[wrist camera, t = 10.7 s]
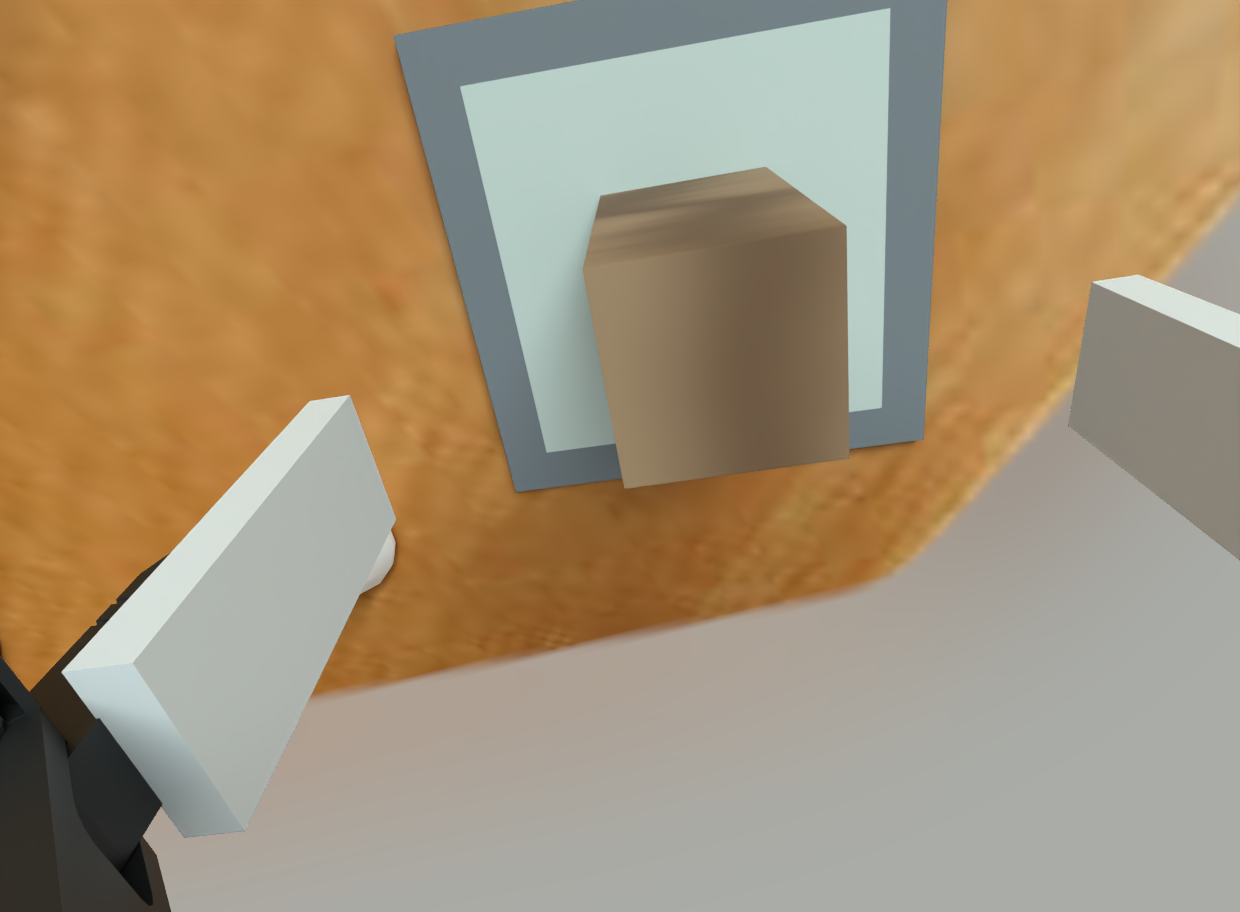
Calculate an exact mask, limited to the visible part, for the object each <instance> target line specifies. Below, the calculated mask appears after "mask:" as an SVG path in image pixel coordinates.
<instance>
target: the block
mask: <svg viewBox="0 0 1240 912" xmlns="http://www.w3.org/2000/svg"><path fill="white" fill-rule="evenodd" d="M583 275H584V280H585V285H586V290H587V296H588V301H589V306H590V311H591V316H592V322H593V327H594V332H595V337H596V343H597V348H598V353H599V358H600V364H601V369H602V374H603V379H604V384H605V390H606V395H607V400H608V405H609V411H610V416H611V421H612V426H613V432H614V437H615V442H616V447H617V452H618V458H619V463H620V468H621V473H622V479H623V484H624V489H626V488H634V487H641V486H649V485H656V484H664V483H671V482H678V481H686V480H693V479H701V478H708V477H716V476H723V475H730V474H738V473H745V472H753V471H760V470H768V469H775V468H782V467H790V466H797V465H805V464H812V463H820V462H827V461H834V460H842V459H849V376H848V293H847V226H846V225H845V224H843V223H842V222H841V221H839V220H838V219H837V218H835V217H834V216H833V215H831V214H830V213H828V212H827V211H826V210H824V209H823V208H822V207H820V206H819V205H817V204H816V203H815V202H813V201H812V200H811V199H809V198H808V197H807V196H805V195H804V194H802V193H801V192H800V191H798V190H797V189H796V188H794V187H793V186H792V185H790V184H789V183H787V182H786V181H785V180H783V179H782V178H781V177H779V176H778V175H777V174H775V173H774V172H772V171H771V170H770V169H768V168H767V167H761V168H756V169H750V170H744V171H738V172H733V173H727V174H721V175H715V176H710V177H704V178H698V179H692V180H687V181H681V182H675V183H669V184H663V185H658V186H652V187H646V188H640V189H635V190H629V191H623V192H617V193H612V194H606V195H601V196H600V200H599V204H598V208H597V212H596V216H595V220H594V224H593V228H592V232H591V237H590V241H589V245H588V249H587V253H586V257H585V261H584V265H583Z"/></svg>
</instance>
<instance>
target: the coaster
mask: <svg viewBox="0 0 1240 912" xmlns="http://www.w3.org/2000/svg"><path fill="white" fill-rule="evenodd" d="M946 13H947V0H577V1H572V2H567V3H562V4H556V5H551V6H546V7H541V8H535V9H530V10H525V11H520V12H514V13H509V14H504V15H499V16H493V17H488V18H483V19H478V20H472V21H467V22H462V23H457V24H451V25H446V26H441V27H436V28H430V29H425V30H420V31H415V32H409V33H404V34H399V35H394V40H395V43H396V47H397V51H398V55H399V58H400V62H401V66H402V70H403V73H404V77H405V81H406V84H407V88H408V92H409V96H410V99H411V103H412V107H413V110H414V114H415V118H416V122H417V125H418V129H419V133H420V137H421V140H422V144H423V148H424V151H425V155H426V159H427V163H428V166H429V170H430V174H431V177H432V181H433V185H434V189H435V192H436V196H437V200H438V204H439V207H440V211H441V215H442V218H443V222H444V226H445V230H446V233H447V237H448V241H449V244H450V248H451V252H452V256H453V259H454V263H455V267H456V271H457V274H458V278H459V282H460V285H461V289H462V293H463V297H464V300H465V304H466V308H467V311H468V315H469V319H470V323H471V326H472V330H473V334H474V338H475V341H476V345H477V349H478V352H479V356H480V360H481V364H482V367H483V371H484V375H485V378H486V382H487V386H488V390H489V393H490V397H491V401H492V405H493V408H494V412H495V416H496V419H497V423H498V427H499V431H500V434H501V438H502V442H503V445H504V449H505V453H506V457H507V460H508V464H509V468H510V472H511V475H512V479H513V483H514V486H515V490H516V492H521V491H529V490H536V489H544V488H552V487H560V486H567V485H575V484H583V483H591V482H598V481H606V480H614V479H622V473H621V468H620V463H619V458H618V452H617V447H616V442H615V437H614V432H613V426H612V421H611V416H610V411H609V405H608V400H607V395H606V390H605V384H604V379H603V374H602V369H601V364H600V358H599V353H598V348H597V343H596V337H595V332H594V327H593V322H592V316H591V311H590V306H589V301H588V296H587V290H586V285H585V280H584V275H583V265H584V261H585V257H586V253H587V249H588V245H589V241H590V237H591V232H592V228H593V224H594V220H595V216H596V212H597V208H598V204H599V200H600V196H601V195H606V194H612V193H617V192H623V191H629V190H635V189H640V188H646V187H652V186H658V185H663V184H669V183H675V182H681V181H687V180H692V179H698V178H704V177H710V176H715V175H721V174H727V173H733V172H738V171H744V170H750V169H756V168H761V167H767V168H768V169H770V170H771V171H772V172H774V173H775V174H777V175H778V176H779V177H781V178H782V179H783V180H785V181H786V182H787V183H789V184H790V185H792V186H793V187H794V188H796V189H797V190H798V191H800V192H801V193H802V194H804V195H805V196H807V197H808V198H809V199H811V200H812V201H813V202H815V203H816V204H817V205H819V206H820V207H822V208H823V209H824V210H826V211H827V212H828V213H830V214H831V215H833V216H834V217H835V218H837V219H838V220H839V221H841V222H842V223H843V224H845V225H846V226H847V293H848V376H849V449H854V448H862V447H870V446H877V445H885V444H893V443H901V442H908V441H916V440H923V439H924V421H925V402H926V384H927V365H928V347H929V328H930V309H931V291H932V272H933V254H934V235H935V217H936V198H937V180H938V161H939V143H940V124H941V105H942V87H943V68H944V50H945V31H946Z"/></svg>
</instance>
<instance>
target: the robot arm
mask: <svg viewBox="0 0 1240 912" xmlns="http://www.w3.org/2000/svg"><path fill="white" fill-rule="evenodd" d="M1068 426H1069V427H1071V428H1072V429H1073V430H1074V431H1076V432H1077V433H1078V434H1080V435H1081V436H1082V437H1083V438H1085V439H1086V440H1087V441H1088V442H1090V443H1091V444H1092V445H1093V446H1095V447H1096V448H1097V449H1099V450H1100V451H1101V452H1103V453H1104V454H1105V455H1106V456H1107V457H1109V458H1110V459H1111V460H1113V461H1114V462H1115V463H1116V464H1118V465H1119V466H1120V467H1121V468H1123V469H1124V470H1125V471H1127V472H1128V473H1129V474H1130V475H1132V476H1133V477H1134V478H1135V479H1137V480H1138V481H1139V482H1141V483H1142V484H1143V485H1144V486H1146V487H1147V488H1148V489H1150V490H1151V491H1152V492H1153V493H1155V494H1156V495H1157V496H1158V497H1160V498H1161V499H1162V500H1164V501H1165V502H1166V503H1167V504H1169V505H1170V506H1171V507H1172V508H1174V509H1175V510H1176V511H1178V512H1179V513H1180V514H1181V515H1183V516H1184V517H1186V519H1188V520H1189V521H1190V522H1192V523H1193V524H1194V525H1196V526H1197V527H1198V528H1199V529H1200V530H1202V531H1203V532H1204V533H1206V534H1207V535H1208V536H1209V537H1211V538H1212V539H1214V541H1216V542H1217V543H1218V544H1220V545H1221V546H1222V547H1223V548H1225V549H1226V550H1227V551H1229V552H1230V553H1231V554H1232V555H1234V556H1235V557H1236V558H1237V559H1239V560H1240V314H1237V313H1235V312H1232V311H1229V310H1227V309H1224V308H1222V307H1219V306H1217V305H1214V304H1212V303H1209V302H1206V301H1204V300H1201V299H1199V298H1196V297H1194V296H1191V295H1188V294H1186V293H1184V292H1181V291H1179V290H1176V289H1173V288H1171V287H1168V286H1166V285H1163V284H1161V283H1158V282H1156V281H1153V280H1150V279H1148V278H1145V277H1143V276H1140V275H1134V276H1127V277H1121V278H1114V279H1108V280H1101V281H1095V282H1092V283H1091V289H1090V295H1089V301H1088V307H1087V314H1086V320H1085V326H1084V332H1083V338H1082V344H1081V350H1080V356H1079V362H1078V368H1077V374H1076V380H1075V387H1074V393H1073V399H1072V405H1071V411H1070V417H1069V423H1068ZM395 521H396V517H395V515H394V512H393V509H392V507H391V504H390V501H389V499H388V496H387V493H386V491H385V488H384V485H383V483H382V480H381V477H380V475H379V472H378V469H377V467H376V464H375V461H374V459H373V456H372V453H371V450H370V448H369V445H368V442H367V440H366V437H365V434H364V432H363V429H362V426H361V424H360V421H359V418H358V416H357V413H356V410H355V408H354V405H353V402H352V400H351V397H350V395H347V396H341V397H334V398H328V399H321V400H315V401H309V403H308V404H307V405H306V406H305V407H304V408H303V409H302V410H301V411H300V412H299V413H298V415H297V416H296V417H295V418H294V419H293V420H292V421H291V422H290V423H289V424H288V425H287V427H286V428H285V429H284V430H283V431H282V432H281V433H280V434H279V435H278V436H277V437H276V439H275V440H274V441H273V442H272V443H271V444H270V445H269V446H268V447H267V448H266V449H265V451H264V452H263V453H262V454H261V455H260V456H259V457H258V458H257V459H256V460H255V461H254V463H253V464H252V465H251V466H250V467H249V468H248V469H247V470H246V471H245V472H244V473H243V475H242V476H241V477H240V478H239V479H238V480H237V481H236V482H235V483H234V484H233V485H232V487H231V488H230V489H229V490H228V491H227V492H226V493H225V494H224V495H223V496H222V497H221V499H220V500H219V501H218V502H217V503H216V504H215V505H214V506H213V507H212V508H211V509H210V511H209V512H208V513H207V514H206V515H205V516H204V517H203V518H202V519H201V520H200V521H199V523H198V524H197V525H196V526H195V527H194V528H193V529H192V530H191V531H190V532H189V533H188V535H187V536H186V537H185V538H184V539H183V540H182V541H181V542H180V543H179V544H178V545H177V547H176V548H175V549H174V550H173V551H172V552H171V553H169V554H168V555H166V556H165V557H164V558H162V559H161V560H159V561H158V562H156V563H155V564H154V565H152V566H151V567H149V568H148V569H147V570H145V571H144V572H142V573H141V574H140V575H139V576H138V577H137V578H136V579H135V580H134V581H133V582H132V583H131V584H130V585H129V586H128V587H127V589H126V590H125V591H124V592H123V593H122V594H121V595H120V596H119V597H118V598H117V599H116V600H117V604H112V605H111V606H110V607H109V608H108V609H107V610H106V611H105V612H104V613H103V614H102V615H101V616H100V617H99V618H98V619H97V620H96V622H97V625H96V626H91V627H90V628H89V629H88V630H87V631H86V632H85V633H84V634H83V635H82V636H81V638H80V639H79V640H78V641H77V642H76V643H75V644H74V645H73V646H72V647H71V648H70V649H69V650H68V651H67V652H66V653H65V655H64V656H63V657H62V658H61V659H60V660H59V661H58V662H57V663H56V664H55V665H54V666H53V667H52V668H51V669H50V671H49V672H48V673H47V674H46V675H45V676H44V677H43V678H42V679H41V680H40V681H39V682H38V683H37V684H36V685H35V687H34V688H33V689H32V690H31V691H30V692H28V690H27V689H26V688H25V686H24V685H23V684H22V683H21V681H20V680H19V679H18V678H17V676H16V675H15V674H14V672H13V671H12V670H11V669H10V667H9V666H8V665H7V664H6V662H5V661H4V660H3V658H2V657H1V656H0V912H171V910H170V906H169V902H168V898H167V894H166V890H165V886H164V883H163V878H162V875H161V871H160V867H159V863H158V859H157V855H156V854H155V852H154V851H153V850H152V848H151V847H150V846H149V845H148V843H147V842H146V840H145V839H144V838H143V837H142V836H143V834H144V833H145V831H146V830H147V828H148V827H149V825H150V823H151V821H152V820H153V818H154V817H155V815H156V813H157V812H158V810H159V809H160V807H162V808H163V810H164V811H165V813H166V814H167V815H168V817H169V818H170V819H171V821H172V822H173V823H174V825H175V826H176V827H177V829H178V830H179V832H180V833H181V834H182V836H183V837H184V838H187V837H196V836H206V835H214V834H224V833H232V832H242V831H245V830H246V828H247V826H248V824H249V822H250V820H251V818H252V816H253V814H254V812H255V810H256V807H257V805H258V803H259V801H260V799H261V797H262V795H263V793H264V791H265V789H266V787H267V785H268V783H269V780H270V779H271V776H272V774H273V772H274V770H275V768H276V766H277V764H278V762H279V760H280V758H281V756H282V754H283V752H284V750H285V748H286V746H287V743H288V741H289V739H290V737H291V735H292V733H293V731H294V729H295V727H296V725H297V723H298V721H299V719H300V717H301V714H302V712H303V710H304V708H305V706H306V704H307V702H308V700H309V698H310V696H311V694H312V692H313V690H314V688H315V686H316V684H317V682H318V679H319V677H320V675H321V673H322V671H323V669H324V667H325V665H326V663H327V661H328V659H329V657H330V655H331V653H332V651H333V649H334V646H335V644H336V642H337V640H338V638H339V636H340V634H341V632H342V630H343V628H344V626H345V624H346V622H347V620H348V618H349V616H350V613H351V611H352V609H353V607H354V605H355V603H356V601H357V599H358V597H359V595H360V593H361V591H362V589H363V587H364V585H365V582H366V580H367V578H368V576H369V574H370V572H371V570H372V568H373V566H374V564H375V562H376V560H377V558H378V556H379V554H380V552H381V549H382V547H383V545H384V543H385V541H386V539H387V537H388V535H389V533H390V531H391V529H392V527H393V525H394V523H395Z"/></svg>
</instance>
